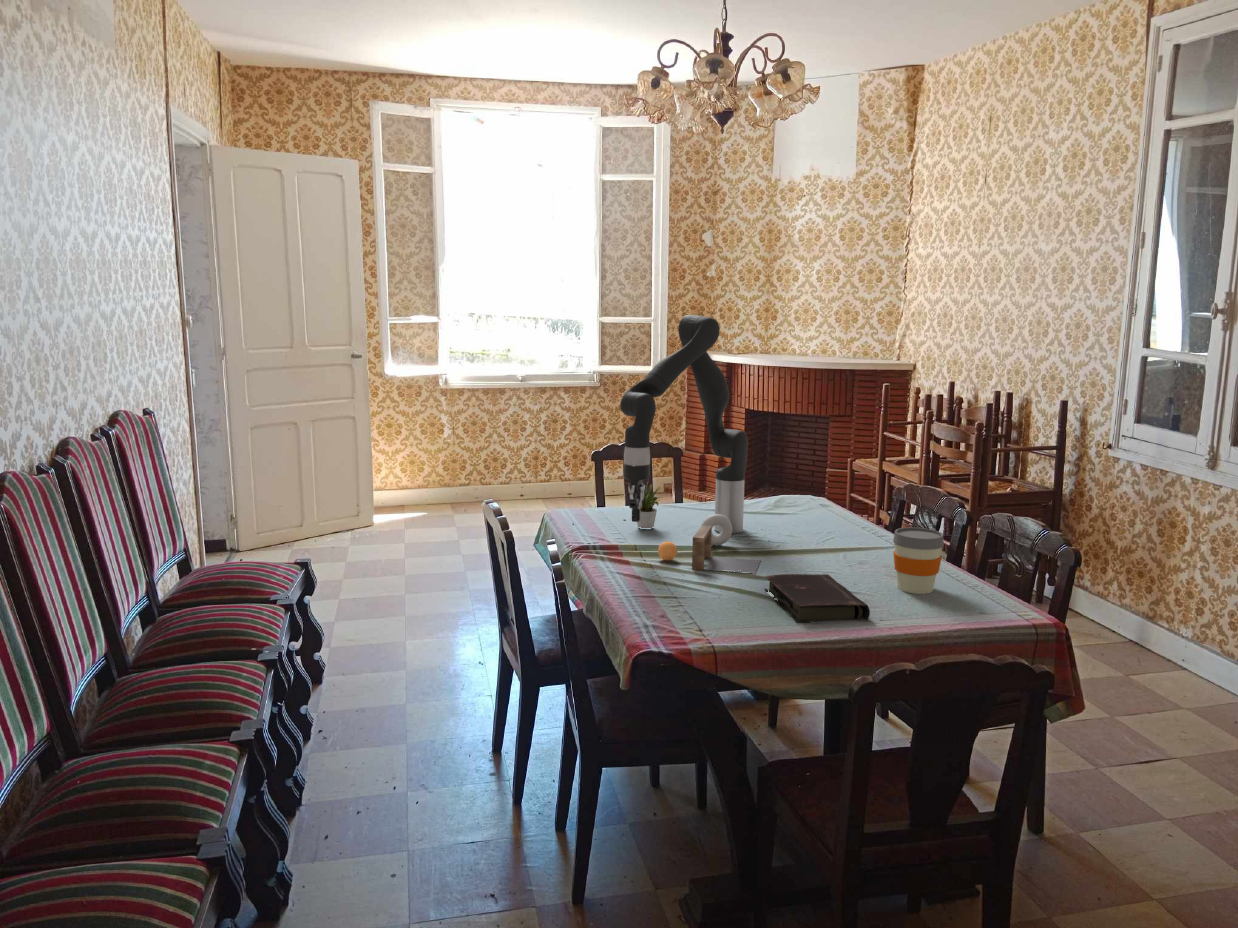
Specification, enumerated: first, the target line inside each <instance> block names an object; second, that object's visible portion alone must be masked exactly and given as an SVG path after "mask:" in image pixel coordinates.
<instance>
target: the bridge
mask: <svg viewBox="0 0 1238 928" xmlns="http://www.w3.org/2000/svg"><path fill="white" fill-rule="evenodd" d="M712 534H713V527H712V526H700V527H699V528H698V529H697V531H696V533H695V534H694V535H693V536H692V549H691V550H692V551H691V552H692V554H691V555H692V557H691V558H692V559H691V570H693V571H694V570H696V571H703V570H705V559H711V558H712V545H711V538H712Z"/></svg>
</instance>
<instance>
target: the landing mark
mask: <svg viewBox="0 0 1238 928" xmlns="http://www.w3.org/2000/svg"><path fill="white" fill-rule="evenodd" d="M761 561H762V560H761V559H751V558H737V557H725V556H724V557H723V556H713V555H712V556H711V558H710V560H709V561H708V563H707V565H706V567H704V571H708V570H714V571H713V572H721V571H723V570H734V571H735V572H750V573H755V574H756V573H757V571H758V569H759V565H760V563H761ZM738 570H739V571H738ZM740 570H741V571H740ZM734 571H729V572H727V571H726V572H725V573H733V572H734Z"/></svg>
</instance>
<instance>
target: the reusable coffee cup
mask: <svg viewBox="0 0 1238 928" xmlns="http://www.w3.org/2000/svg"><path fill="white" fill-rule="evenodd" d="M892 542H893V544H894V551H893V563H894V570H895V572H896V583H897V584H896V585H897V589H898V590H900V591H902V592H905V593H910V594H917V595H923V594H924V595H926V593H927V594H930V593H932V592H934V588H935V584H936V577H937V575H938V574H939V571H940V567H941V563H942V558H943V557H942V554H941V553H942V549H943V547H944V545H945V543H944V534H943V533H942V532H941V531H938V530H934V529H930V528H924V527H900V528H897V529H895V530H894V533H893V539H892Z"/></svg>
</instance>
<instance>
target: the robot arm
mask: <svg viewBox="0 0 1238 928" xmlns="http://www.w3.org/2000/svg"><path fill="white" fill-rule="evenodd" d="M720 329H721V328H720V324H719V322H718V321H717V320H716V319H715V318H713V317H709V316H703V315H697V314H686V315H683V317H682V318H681V319H680V321H679V323H678V337H679V340H680V343H681V346H682V347H681V348H680V349H678V350H676V351H675V352H673V353H671V354H670V355H668V356H666V357H664V358H662V359H661V360H660V361H658V363H656V364H655V365H654V366H653V368H652V369H651V370H650V371H649V372H648V373H647V375H646V376H645V377H644V378H642V379H641V380H640V381H638V382H637V383H636V384H634V385H633V386H632V387H630V388H629V389H628V390H627V391H626V392H625V393H624V394H623V396H622V397H621V399H620V403H619V406H620V407H619V408H620V411H621V412H622V414H624V416H627V417H633V418H635V419H634V422H633V424H631V425H629V426H627V427H626V428H625V432H624V452H623V478H624V479H625V480H629V481H630V482H629V484H628V485H627V487H628V490H627V491H628V492H627V494H626V497H627V502H628V506H629V507H628V508H629V509H631V521H632V522H635V523H637V522H639V521H640V508H641V507H642V504H643V499H644V493H645V490H647V489H646V485H645V484H644V481H647V480H649V479H650V476H651V451H650V440H651V439H650V436H651V434H650V433H651V429H652V427H653V426H652V425H653V422H654V418H655V415H656V409H657V407H656V406H657V405H656V402H655V399H654V398H658V397H661V396H662V395H664V393H666V391H667V390H668V389H669V387H670V386H671V385H672V384H673V383H674V382H675V380H676V379H678V377H679V376H680V375H681V374H682V373H683V372H684V371H686V369H688V367H690V369H691V372H692V374H693V379H694V381H695V385H696V386H695V387H696V389H697V392H698V396H699V397H698V398H699V399H700V402H701V405H702V408H703V412H704V416H705V420H706V424H707V429H708V430H707V431H708V436H709V441H710V446H711V450H712V452H713V454H714V455H715V456H716V457H719V458H720V457H721V458H727V459H730V464H729V465H727V466H724V467H720V468H718V469H716V472H715V496H714V497H715V501H714V502H715V504H714V506H715V507H714V514H721V515H724V516H726V517H727V518H728V519H729V520H730V522H731V524H732V529H733V530H732V533H733V534H739V533H742V532H743V531H744V510H745V509H744V507H745V506H744V505H745V476H746V471H747V462H748V461H747V459H748V451H749V438H748V435H747V433H746V432H745V431H744V430H741V429H732V428H731V429H730V428H725V425H724V422H723V415H724V412H725V410H726V408H727V406H728V404H729V402H730V389H729V386H728V383H727V379H726V377H725V374H724V372H723V371H722V370H721V369H720V367H719V365H717V363H716V362H715V361H714V360H713V359H712V357H711V356H710V355H709V353H708V351H709V350H710V349H711V348H713V346H714V345H715V344H716V343H717V341H718V339H719V337H720V332H721V330H720ZM715 530H716V531H715ZM721 530H722V529H721V526H720V525H715V526H714V531H715V532H717V531H718V532H717V533H720V532H721Z"/></svg>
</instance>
